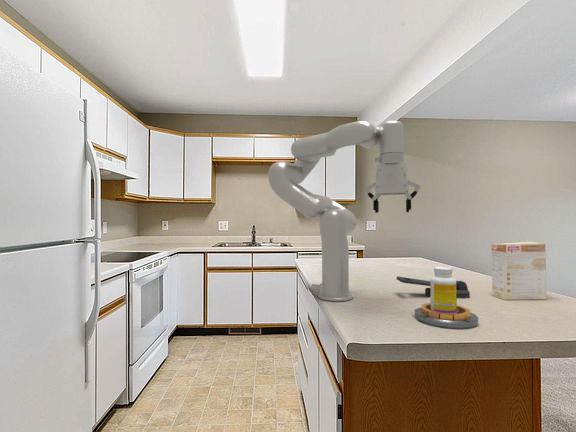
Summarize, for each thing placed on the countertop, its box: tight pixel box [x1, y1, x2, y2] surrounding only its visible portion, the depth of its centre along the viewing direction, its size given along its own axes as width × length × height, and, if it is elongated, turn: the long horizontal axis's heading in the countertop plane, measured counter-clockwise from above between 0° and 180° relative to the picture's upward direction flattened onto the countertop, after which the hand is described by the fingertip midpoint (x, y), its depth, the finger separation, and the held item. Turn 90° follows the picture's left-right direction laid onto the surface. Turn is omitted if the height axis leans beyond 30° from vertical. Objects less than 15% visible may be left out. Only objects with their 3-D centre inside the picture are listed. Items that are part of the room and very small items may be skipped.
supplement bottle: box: [429, 266, 458, 314], centre depth 91 cm, size 7×7×13 cm
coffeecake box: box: [491, 241, 547, 301], centre depth 115 cm, size 15×7×20 cm, turn 91°
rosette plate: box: [414, 302, 479, 330], centre depth 91 cm, size 16×16×3 cm
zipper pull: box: [396, 276, 471, 299], centre depth 119 cm, size 9×7×25 cm
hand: (392, 212), depth 106 cm, fingers open, 9 cm apart
